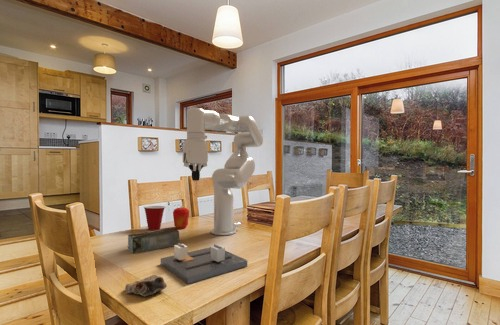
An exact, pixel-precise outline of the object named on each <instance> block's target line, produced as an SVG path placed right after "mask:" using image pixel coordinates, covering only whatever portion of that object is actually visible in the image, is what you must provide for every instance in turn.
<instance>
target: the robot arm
mask: <svg viewBox="0 0 500 325" xmlns="http://www.w3.org/2000/svg"><path fill="white" fill-rule="evenodd" d="M206 130H207V131H215V132H216V131H217V132H218V131H219V132H229V133H237V134H235V136H234V137H233V152H232V154H231V155H230V157H229V158H228V159H227V160H226V161H225V164H224V166H223V168H217V169H216V170H215V171H213V173H212V174H211V175H212V176H211V181H212V186H213V228H212V229H211V230H210V234H212V235H215V236H231V235H234V234H236V233H237V229H236V228H237V227H241V225H242V224H241V222H234V194H233V192H232V190H231V189H243V188H245V186H246V185H247V184H248V182H249V180H250V179H251V177H252V175H253V174H254V172H255V170H256V163H255V160H254V159H253V157H251V156H249V154H248V152H247V150H246V149H245V148H258V147H261V146H262V145H263V142H264V136H263V134H262V132H261V129H260V127H259V126H258V124H257V121H256V120H255V119H254V117H253V116H251V115H240V116H238V115H233V114H229V113H218V112H217V111H215V110H212V109H211V110H207V109H203V108H199V107H191V108H188V109H187V111H186V140H184V144H183V148H182V149H183V150H182V163H183V167H185V168H188V169H189V170H190V172H191V180H192V181H198V182H199V181H200V178H201V173H200V172H201V171H202V169H203V168H205V167H208V160H209V156H208V152H209V151H208V144H207V141H206V139H208V135H206V132H205V131H206Z"/></svg>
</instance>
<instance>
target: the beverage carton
mask: <svg viewBox="0 0 500 325" xmlns="http://www.w3.org/2000/svg"><path fill="white" fill-rule="evenodd" d="M127 238H128V239H127V247H128V250H129V251H130V253H131V254H139V253H145V252H149V251H155V250H159V249H160V250H161V249H165V248H170V247H174V245H177V243H180V231H179V230H177V228H173V227H172V228H165V229H159V230H151V231H147V232H146V231H145V232H141V233H133V234H127Z"/></svg>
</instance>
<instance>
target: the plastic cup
mask: <svg viewBox="0 0 500 325" xmlns="http://www.w3.org/2000/svg"><path fill="white" fill-rule="evenodd" d="M143 208H144V213H145V217H146V223H147V228H148V230H149V231H158V230H161V228H162V221H163V215H164V211H165V208H166V206H164V205H145V206H143Z"/></svg>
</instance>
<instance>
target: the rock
mask: <svg viewBox="0 0 500 325" xmlns="http://www.w3.org/2000/svg"><path fill="white" fill-rule="evenodd" d="M167 287H168V286H167V283H166V282H165V280H164V278H163V276H159V275H157V274H153V275H150V276H147V277H144V278H143V279H141V280H135V281H133V282H131V283H126V285H125V287H124V288H125V293H126V295H130V294H135V295H141V296H143V297H148V296H149V297H150V296H151V295H155V293H158V292H160V291H163V290H164V289H166V288H167Z"/></svg>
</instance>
